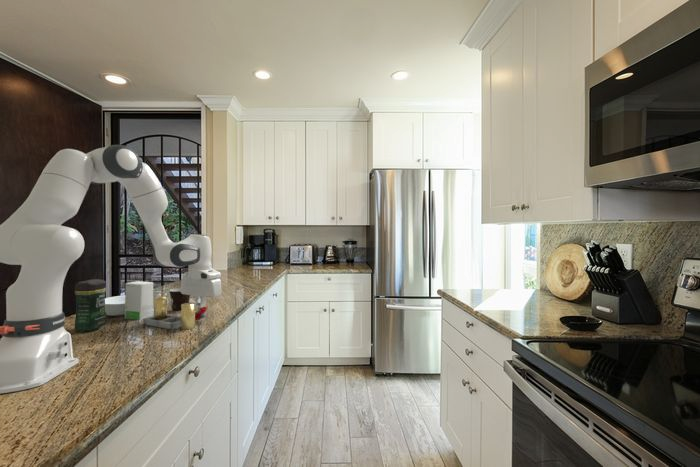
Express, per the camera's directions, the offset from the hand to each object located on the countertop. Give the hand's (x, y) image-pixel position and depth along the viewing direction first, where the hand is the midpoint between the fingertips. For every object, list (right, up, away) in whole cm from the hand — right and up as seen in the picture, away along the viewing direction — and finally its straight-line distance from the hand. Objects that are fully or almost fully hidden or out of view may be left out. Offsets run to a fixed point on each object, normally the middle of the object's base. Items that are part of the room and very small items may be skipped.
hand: (200, 306), depth 138 cm
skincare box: (-26, -6, +1) cm, 26 cm away
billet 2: (+2, -6, -15) cm, 16 cm away
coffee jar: (-36, -6, -12) cm, 38 cm away
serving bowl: (-38, -6, +10) cm, 39 cm away
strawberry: (0, -6, 0) cm, 6 cm away
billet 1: (-12, -5, -8) cm, 15 cm away
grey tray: (-8, -6, -10) cm, 14 cm away
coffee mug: (-15, -6, +13) cm, 21 cm away
